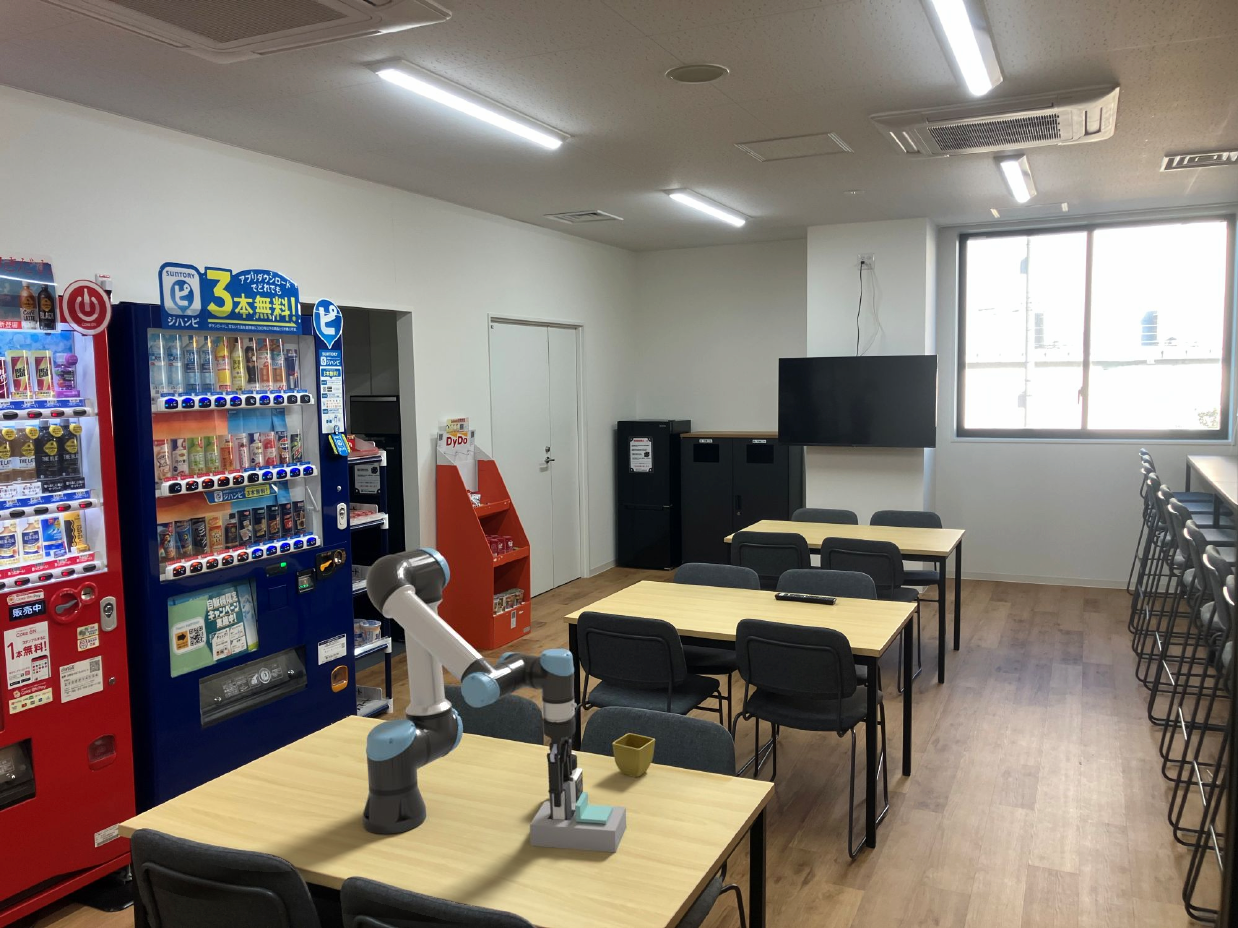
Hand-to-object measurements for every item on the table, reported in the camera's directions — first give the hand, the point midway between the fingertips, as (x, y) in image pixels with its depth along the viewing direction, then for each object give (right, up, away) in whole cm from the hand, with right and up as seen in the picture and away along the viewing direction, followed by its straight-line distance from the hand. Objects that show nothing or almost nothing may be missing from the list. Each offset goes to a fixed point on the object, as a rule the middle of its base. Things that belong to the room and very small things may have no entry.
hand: (562, 813), depth 215 cm
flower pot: (+18, -2, +34) cm, 39 cm away
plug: (0, -5, 0) cm, 5 cm away
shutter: (+8, 0, -2) cm, 8 cm away
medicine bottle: (0, -4, +19) cm, 19 cm away
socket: (+4, -5, 0) cm, 7 cm away
